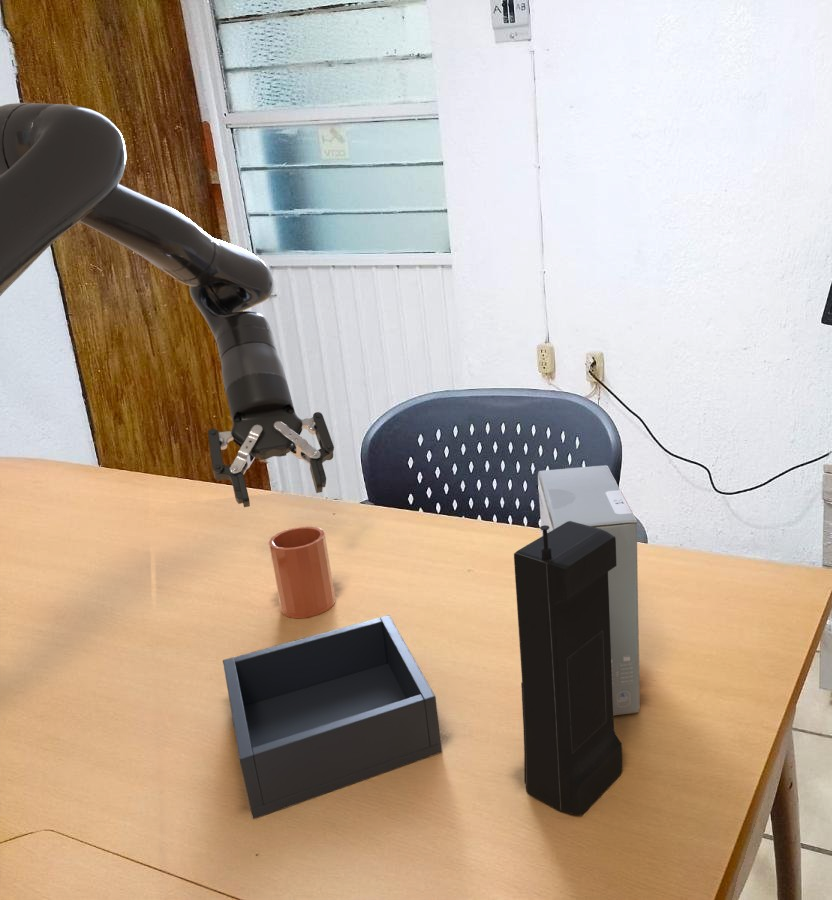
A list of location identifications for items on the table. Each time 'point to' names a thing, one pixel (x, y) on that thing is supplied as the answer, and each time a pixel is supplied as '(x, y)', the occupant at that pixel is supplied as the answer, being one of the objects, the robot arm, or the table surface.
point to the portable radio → (567, 666)
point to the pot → (302, 571)
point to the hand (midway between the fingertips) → (284, 497)
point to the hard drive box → (604, 507)
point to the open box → (328, 713)
